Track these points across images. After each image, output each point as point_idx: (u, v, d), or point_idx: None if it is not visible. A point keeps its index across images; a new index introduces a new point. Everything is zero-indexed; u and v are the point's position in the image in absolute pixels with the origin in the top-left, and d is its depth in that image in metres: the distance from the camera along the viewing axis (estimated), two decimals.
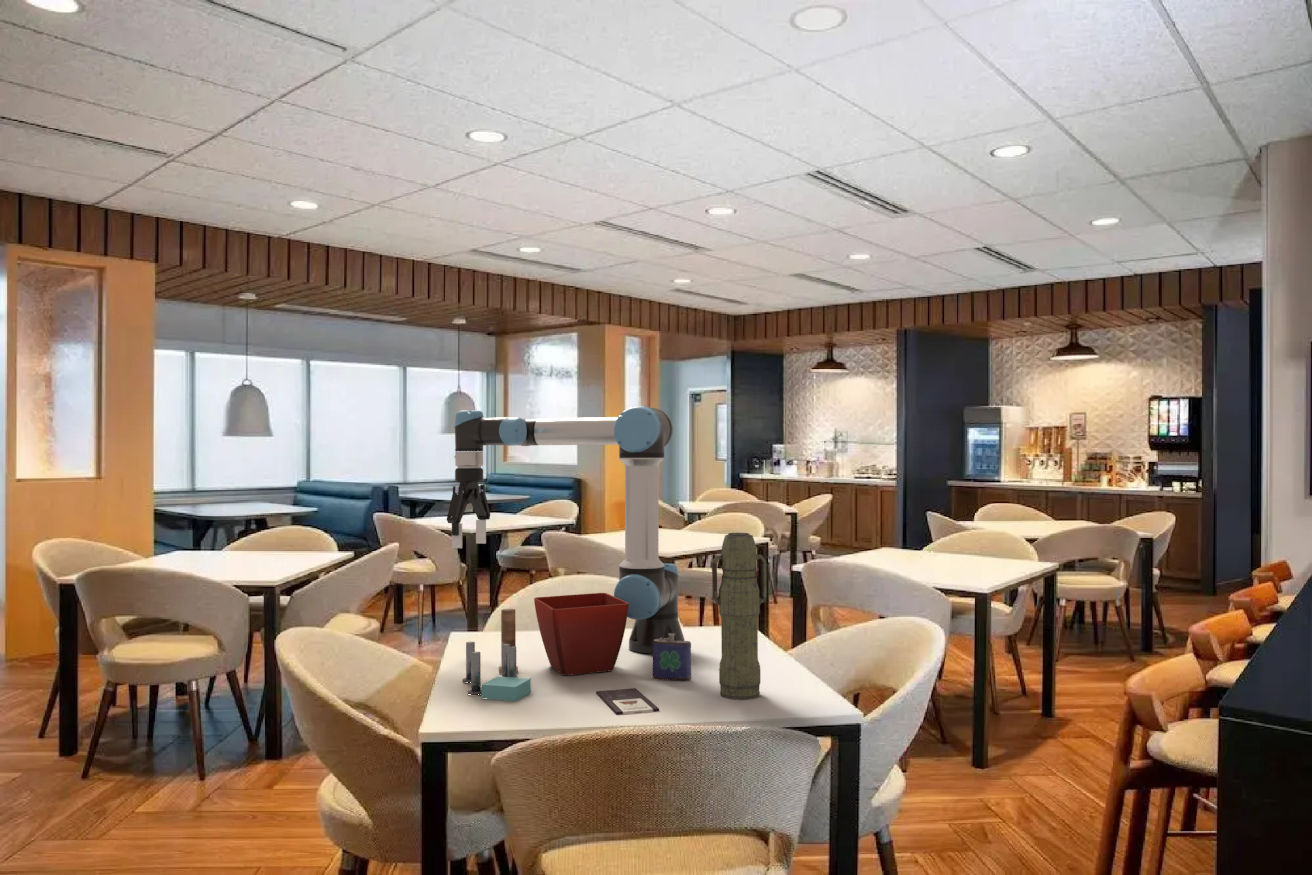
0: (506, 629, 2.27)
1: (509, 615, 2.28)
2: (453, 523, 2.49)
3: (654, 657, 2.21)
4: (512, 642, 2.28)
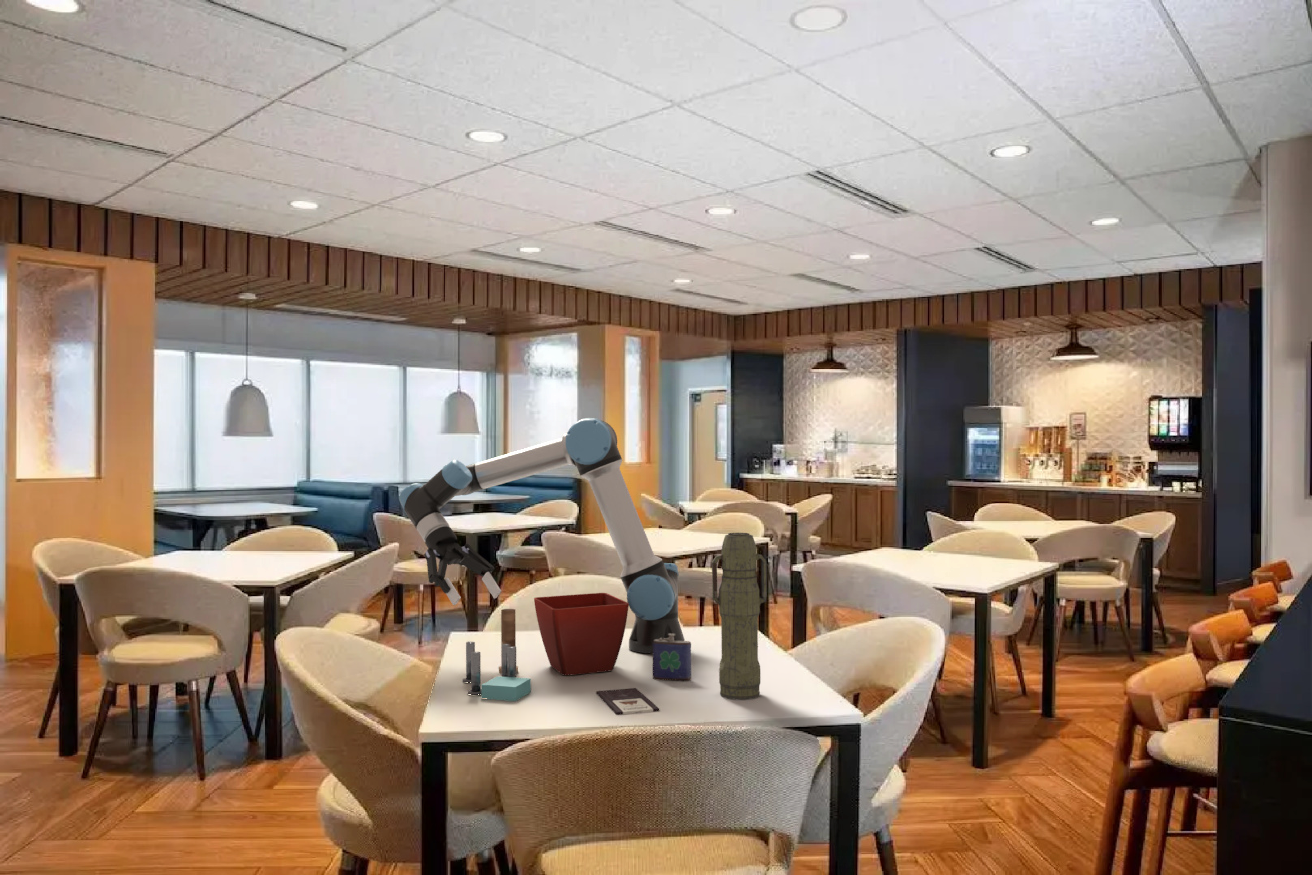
0: (506, 629, 2.27)
1: (509, 615, 2.28)
2: (438, 581, 2.31)
3: (654, 657, 2.21)
4: (512, 642, 2.28)
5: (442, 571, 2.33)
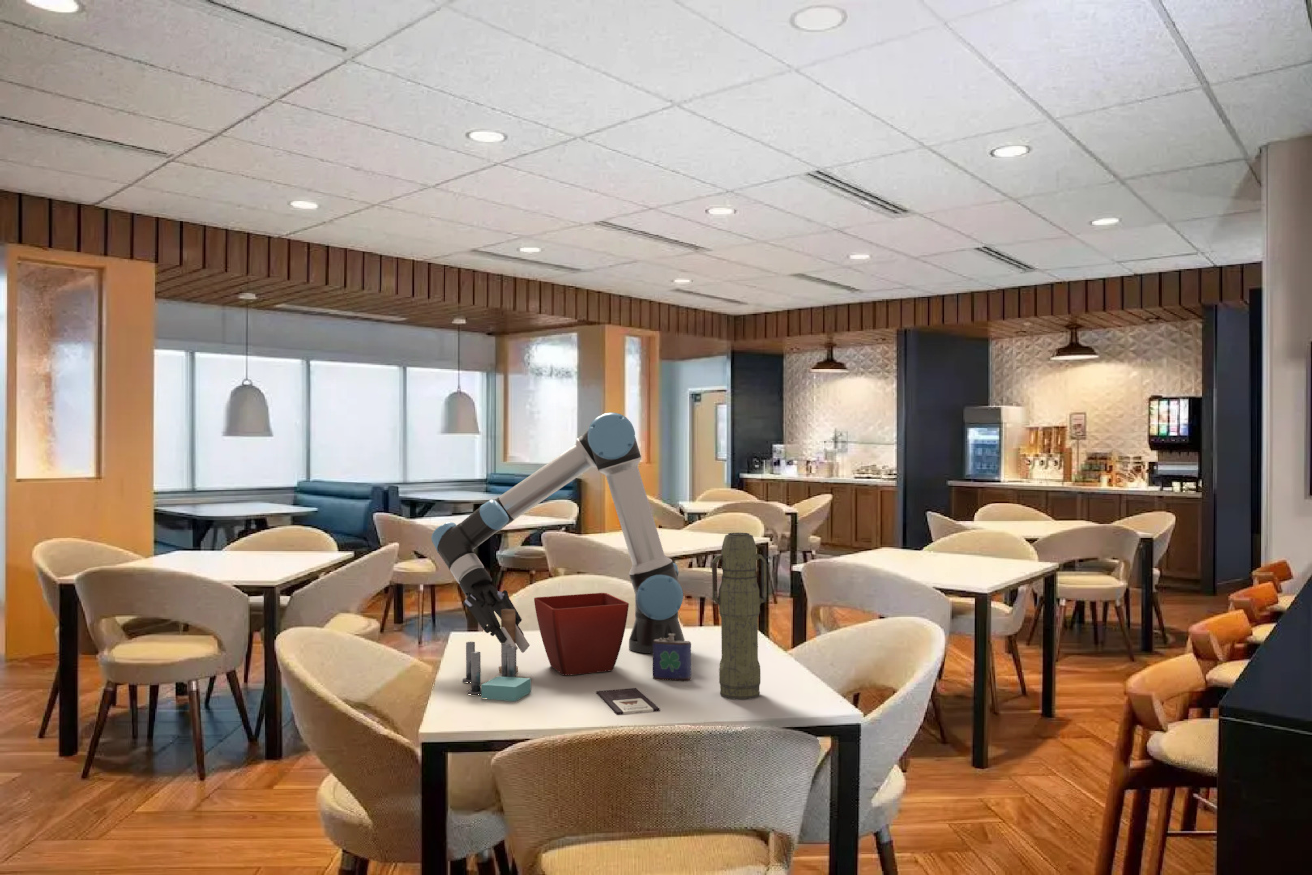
0: (506, 629, 2.27)
1: (509, 615, 2.28)
2: (494, 631, 2.27)
3: (654, 657, 2.21)
4: None
5: (495, 620, 2.28)
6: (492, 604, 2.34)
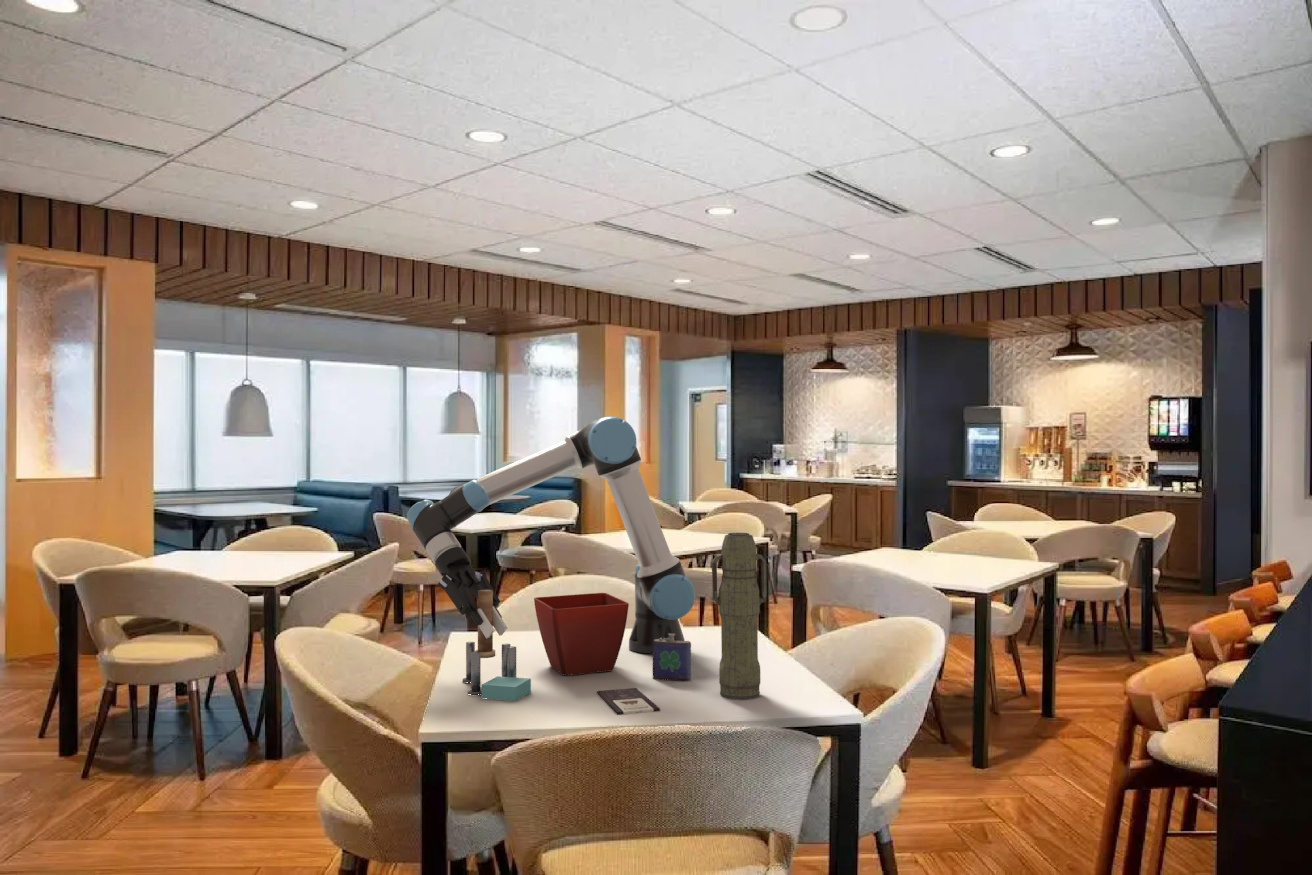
0: (483, 611, 2.17)
1: (486, 596, 2.17)
2: (470, 613, 2.16)
3: (654, 657, 2.21)
4: None
5: (471, 601, 2.17)
6: (469, 585, 2.23)
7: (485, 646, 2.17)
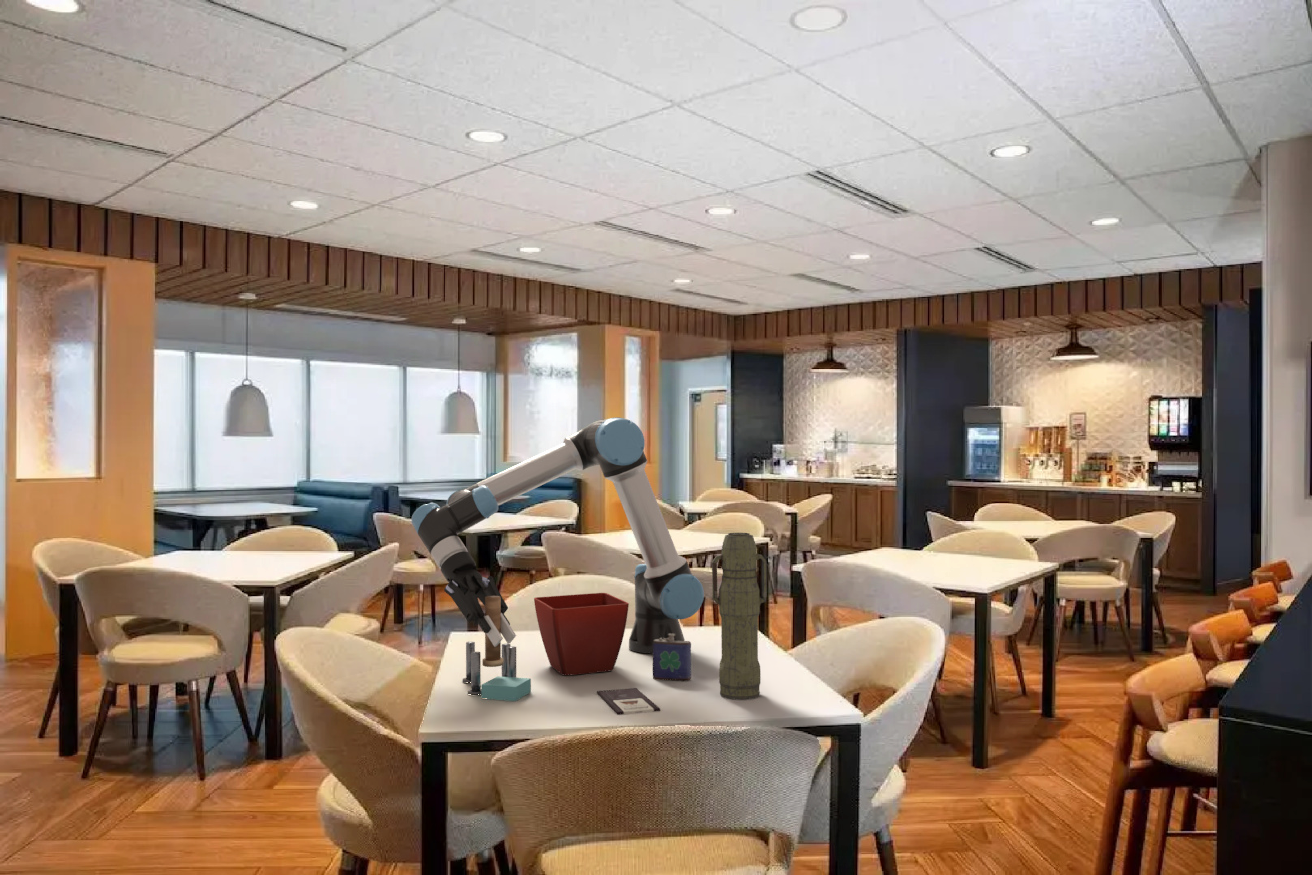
0: (490, 618, 2.09)
1: (494, 602, 2.09)
2: (477, 620, 2.08)
3: (654, 657, 2.21)
4: None
5: (478, 608, 2.10)
6: (476, 591, 2.15)
7: (492, 654, 2.09)
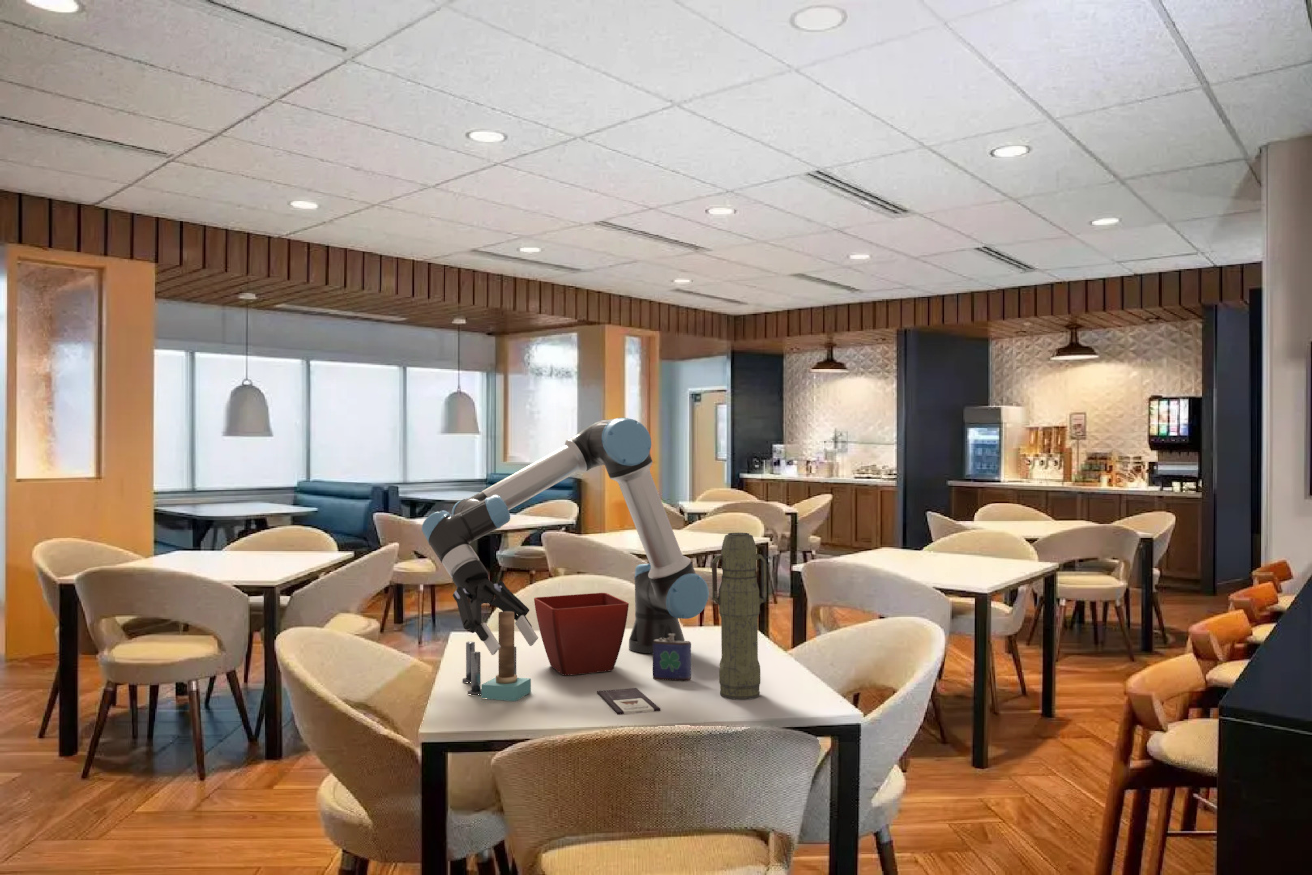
0: (504, 634, 2.05)
1: (507, 618, 2.06)
2: (474, 628, 2.02)
3: (654, 657, 2.21)
4: (511, 648, 2.06)
5: (477, 615, 2.04)
6: None
7: (506, 671, 2.05)
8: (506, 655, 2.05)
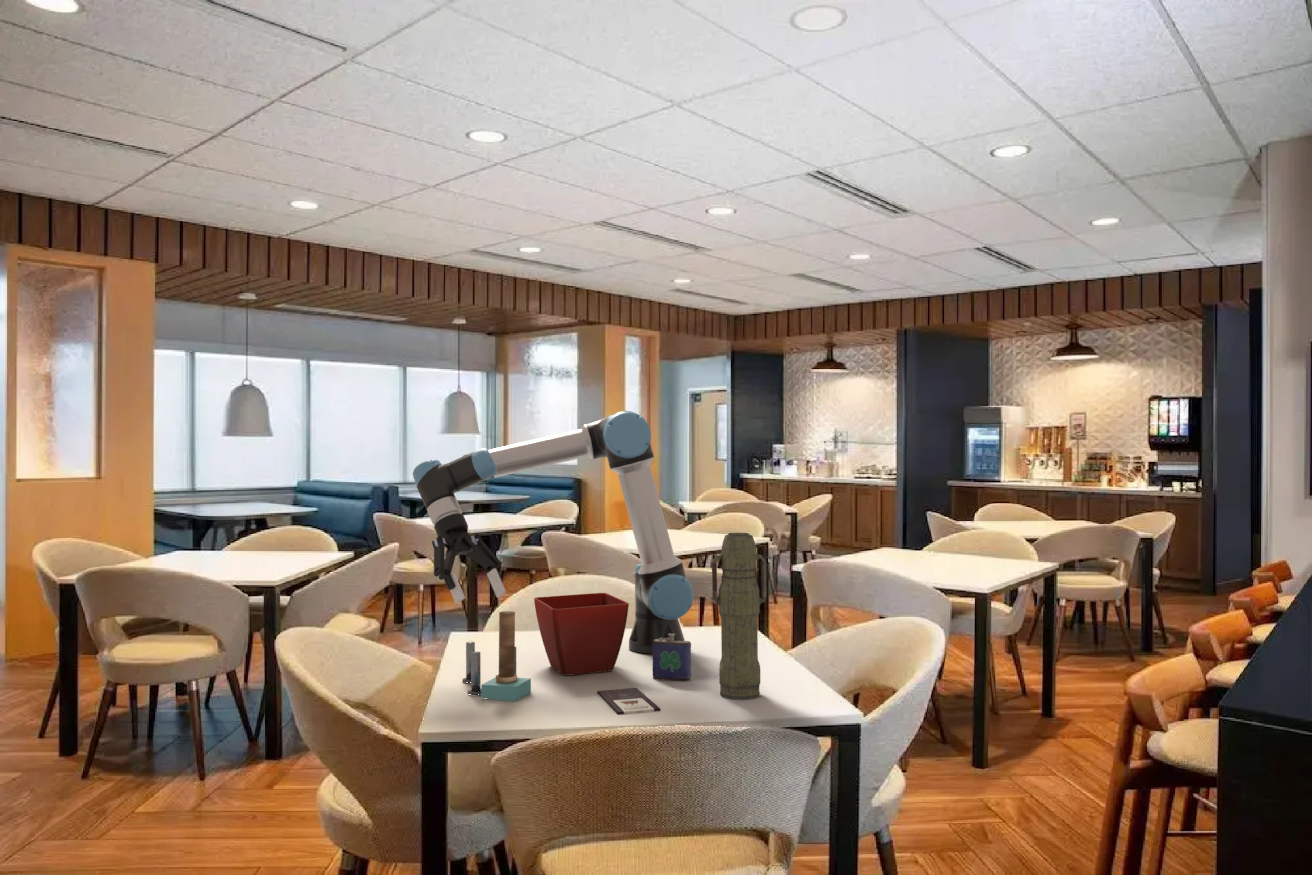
0: (504, 634, 2.05)
1: (508, 618, 2.06)
2: (444, 576, 2.17)
3: (654, 657, 2.21)
4: (511, 648, 2.06)
5: (449, 565, 2.19)
6: (468, 552, 2.28)
7: (506, 671, 2.05)
8: (506, 655, 2.05)
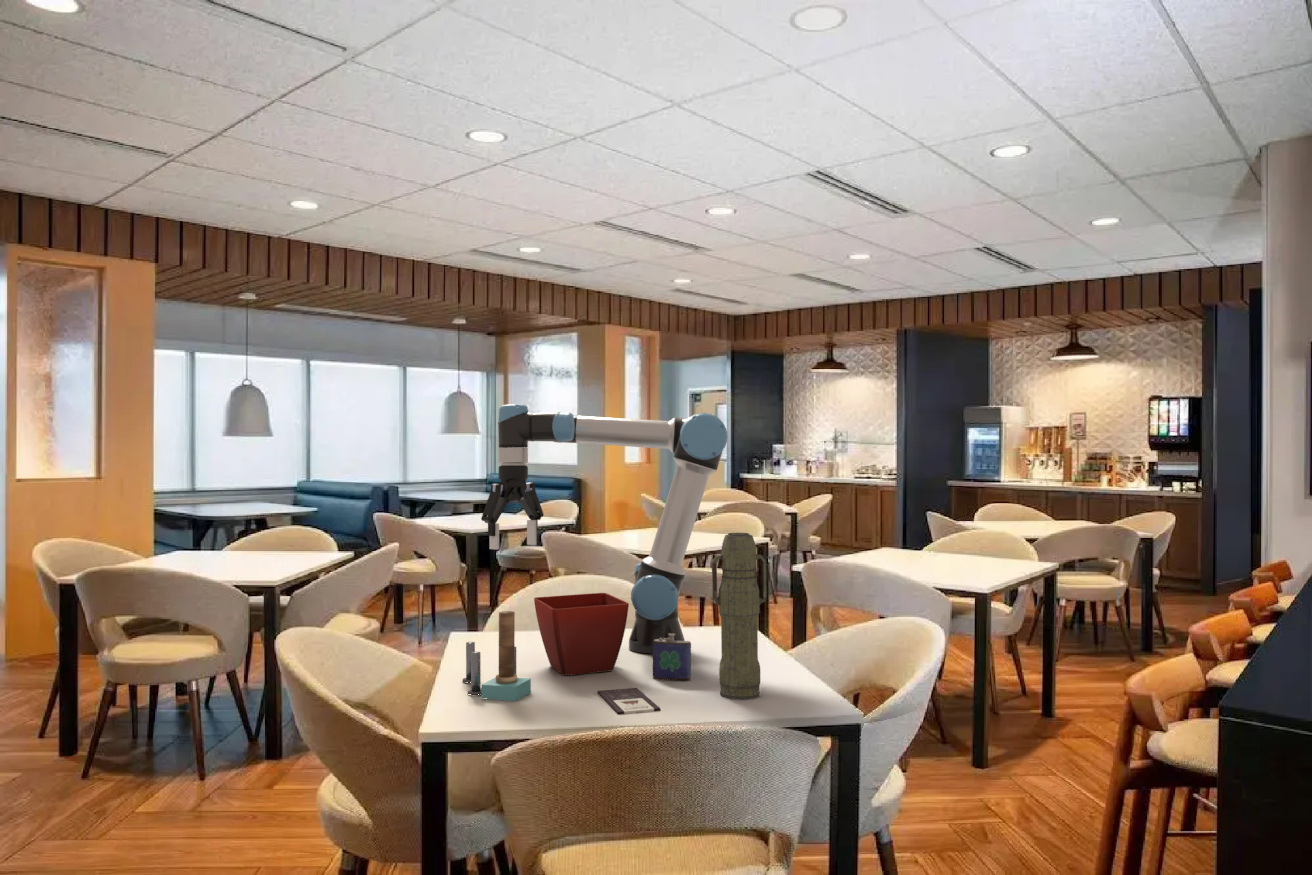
0: (504, 634, 2.05)
1: (508, 618, 2.05)
2: (489, 523, 2.38)
3: (654, 657, 2.21)
4: (511, 648, 2.06)
5: (497, 515, 2.38)
6: None
7: (506, 671, 2.05)
8: (506, 655, 2.05)
